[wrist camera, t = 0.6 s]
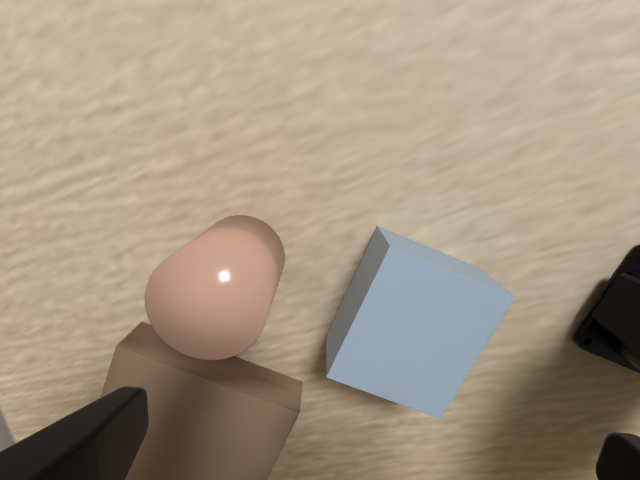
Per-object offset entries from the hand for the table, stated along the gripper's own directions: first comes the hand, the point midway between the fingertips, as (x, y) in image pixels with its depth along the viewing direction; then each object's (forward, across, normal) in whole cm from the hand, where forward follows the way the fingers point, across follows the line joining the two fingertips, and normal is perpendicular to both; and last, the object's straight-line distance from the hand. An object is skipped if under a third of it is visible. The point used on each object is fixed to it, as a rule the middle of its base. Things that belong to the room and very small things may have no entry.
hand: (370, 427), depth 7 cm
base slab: (+12, +8, +12) cm, 19 cm away
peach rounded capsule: (+12, +6, +1) cm, 13 cm away
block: (+13, -3, +3) cm, 13 cm away
